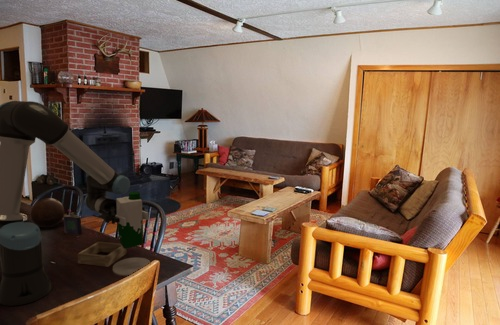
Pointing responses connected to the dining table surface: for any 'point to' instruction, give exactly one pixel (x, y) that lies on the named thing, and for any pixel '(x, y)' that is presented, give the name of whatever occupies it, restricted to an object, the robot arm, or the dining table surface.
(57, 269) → the dining table surface
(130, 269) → the pad
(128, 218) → the soya milk
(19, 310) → the dining table surface
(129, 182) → the robot arm
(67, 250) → the dining table surface
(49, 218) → the wooden sphere
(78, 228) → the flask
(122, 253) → the shallow beige tray
